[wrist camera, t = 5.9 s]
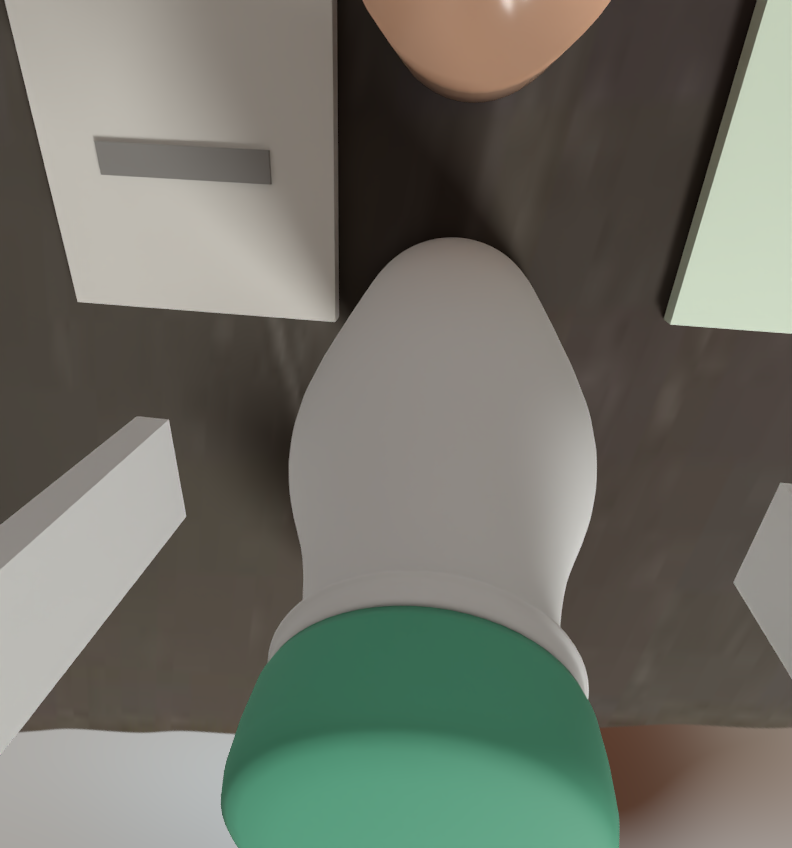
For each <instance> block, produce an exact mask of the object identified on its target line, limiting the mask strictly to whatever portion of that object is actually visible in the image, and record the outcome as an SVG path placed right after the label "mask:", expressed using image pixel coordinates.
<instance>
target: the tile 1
mask: <svg viewBox="0 0 792 848" xmlns="http://www.w3.org/2000/svg"><path fill="white" fill-rule="evenodd" d="M5 5H6V9H7V13H8V17H9V21H10V25H11V29H12V33H13V37H14V42H15V46H16V50H17V54H18V58H19V62H20V66H21V70H22V74H23V79H24V83H25V87H26V91H27V95H28V99H29V103H30V107H31V112H32V116H33V120H34V124H35V128H36V132H37V136H38V140H39V144H40V149H41V153H42V157H43V161H44V165H45V169H46V173H47V177H48V181H49V186H50V190H51V194H52V198H53V202H54V206H55V210H56V214H57V218H58V223H59V227H60V231H61V235H62V239H63V243H64V247H65V251H66V256H67V260H68V264H69V268H70V272H71V276H72V280H73V284H74V288H75V293H76V297H77V301H78V302H86V303H98V304H111V305H124V306H137V307H150V308H162V309H175V310H188V311H201V312H214V313H226V314H239V315H252V316H265V317H278V318H290V319H303V320H316V321H329V322H336V320H337V319H338V318H339V229H338V67H337V0H5Z"/></svg>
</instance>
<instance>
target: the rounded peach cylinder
mask: <svg viewBox="0 0 792 848" xmlns="http://www.w3.org/2000/svg"><path fill="white" fill-rule="evenodd" d="M610 1H611V0H363V2H364V4H365V6H366V8H367V10H368V12H369V13H370V15H371V16H372V18H373V19H374V21H375V22H376V24H377V25H378V27H379V28H380V30H381V31H382V33H383V34H384V36H385V37H386V39H387V40H388V42H389V43H390V44H391V46H392V47H393V49H394V50H395V52H396V53H397V55H398V56H399V58H400V59H401V61H402V62H403V64H404V65H405V67H406V68H407V69H408V70H409V71H410V72H411V74H412V75H413V76H414V77H415V78H416V79H417V80H418V81H420V82H421V83H422V84H423V85H424V86H426V87H427V88H429V89H430V90H432V91H433V92H435V93H437V94H439V95H441V96H443V97H446V98H449V99H452V100H456V101H461V102H469V103H477V102H487V101H493V100H497V99H500V98H503V97H506V96H509V95H511V94H513V93H515V92H517V91H519V90H521V89H522V88H524V87H525V86H527V85H528V84H530V83H531V82H532V81H534V80H535V79H536V78H537V77H538V76H539V75H541V74H542V73H543V72H544V71H545V70H546V69H547V68H548V67H549V66H550V65H551V64H552V63H553V62H554V61H555V60H556V59H557V58H558V57H559V56H561V55H562V54H563V53H564V52H565V51H566V50H567V49H568V48H569V47H570V46H571V45H572V44H573V43H574V42H575V41H576V40H577V39H578V38H579V37H580V36H581V35H582V34H583V33H584V32H585V31H586V30H587V29H588V28H589V27H590V26H591V25H592V24H593V22H594V21H595V20H596V19H597V18H598V17H599V16H600V14H601V13H602V12H603V10H604V9H605V8H606V6H607V5H608V4H609V2H610Z"/></svg>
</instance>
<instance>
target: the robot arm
mask: <svg viewBox="0 0 792 848" xmlns="http://www.w3.org/2000/svg"><path fill="white" fill-rule="evenodd" d="M185 517H186V513H185V507H184V502H183V496H182V490H181V485H180V479H179V474H178V468H177V463H176V457H175V451H174V446H173V440H172V435H171V429H170V424H169V420H168V419H159V418H149V417H139V416H137V417H135V418H134V419H133V420H132V421H130V422H129V423H128V424H126V425H125V426H124V427H123V428H121V429H120V430H119V431H118V432H116V433H115V434H114V435H113V436H111V437H110V438H109V439H108V440H106V441H105V442H104V443H103V444H101V445H100V446H99V447H98V448H96V449H95V450H94V451H93V452H91V453H90V454H89V455H88V456H86V457H85V458H84V459H82V460H81V461H80V462H79V463H77V464H76V465H75V466H74V467H72V468H71V469H70V470H69V471H67V472H66V473H65V474H64V475H62V476H61V477H60V478H59V479H57V480H56V481H55V482H54V483H52V484H51V485H50V486H49V487H47V488H46V489H45V490H44V491H42V492H41V493H40V494H38V495H37V496H36V497H35V498H33V499H32V500H31V501H30V502H28V503H27V504H26V505H25V506H23V507H22V508H21V509H20V510H18V511H17V512H16V513H15V514H13V515H12V516H11V517H10V518H8V519H7V520H6V521H5V522H3V523H2V524H1V525H0V755H1V754H2V753H3V751H4V750H5V749H6V747H7V746H8V745H9V744H10V742H11V741H12V740H13V739H14V737H15V736H16V735H17V733H18V732H19V731H20V730H21V728H22V727H23V726H24V724H25V723H26V722H27V721H28V719H29V718H30V717H31V715H32V714H33V713H34V712H35V710H36V709H37V708H38V706H39V705H40V704H41V703H42V701H43V700H44V699H45V697H46V696H47V695H48V694H49V692H50V691H51V690H52V688H53V687H54V686H55V685H56V683H57V682H58V681H59V679H60V678H61V677H62V676H63V674H64V673H65V672H66V670H67V669H68V668H69V667H70V665H71V664H72V663H73V661H74V660H75V659H76V658H77V656H78V655H79V654H80V652H81V651H82V650H83V649H84V647H85V646H86V645H87V643H88V642H89V641H90V640H91V638H92V637H93V636H94V634H95V633H96V632H97V631H98V629H99V628H100V627H101V625H102V624H103V623H104V622H105V620H106V619H107V618H108V616H109V615H110V614H111V613H112V611H113V610H114V609H115V607H116V606H117V605H118V604H119V602H120V601H121V600H122V598H123V597H124V596H125V595H126V593H127V592H128V591H129V589H130V588H131V587H132V586H133V584H134V583H135V582H136V580H137V579H138V578H139V577H140V575H141V574H142V573H143V571H144V570H145V569H146V568H147V566H148V565H149V564H150V562H151V561H152V560H153V559H154V557H155V556H156V555H157V553H158V552H159V551H160V550H161V548H162V547H163V546H164V544H165V543H166V542H167V541H168V539H169V538H170V537H171V535H172V534H173V533H174V532H175V530H176V529H177V528H178V526H179V525H180V524H181V523H182V521H183V520H184V519H185ZM733 583H734V584H735V586H736V588H737V589H738V591H739V593H740V594H741V596H742V598H743V599H744V601H745V603H746V604H747V606H748V607H749V609H750V611H751V612H752V614H753V616H754V617H755V619H756V621H757V622H758V624H759V626H760V627H761V629H762V631H763V632H764V634H765V635H766V637H767V639H768V640H769V642H770V644H771V645H772V647H773V649H774V650H775V652H776V654H777V655H778V657H779V659H780V660H781V662H782V663H783V665H784V667H785V668H786V670H787V672H788V673H789V675H790V677H791V678H792V484H788V483H780V485H779V487H778V489H777V491H776V493H775V495H774V498H773V500H772V502H771V504H770V506H769V508H768V510H767V512H766V515H765V517H764V519H763V521H762V523H761V525H760V527H759V529H758V531H757V534H756V536H755V538H754V540H753V542H752V544H751V546H750V548H749V551H748V553H747V555H746V557H745V559H744V561H743V563H742V565H741V567H740V570H739V572H738V574H737V576H736V578H735V580H734V582H733Z"/></svg>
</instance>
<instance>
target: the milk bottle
mask: <svg viewBox="0 0 792 848" xmlns="http://www.w3.org/2000/svg"><path fill="white" fill-rule="evenodd" d="M596 480H597V458H596V446H595V440H594V434H593V429H592V423H591V418H590V414H589V411H588V407H587V404H586V401H585V399H584V396H583V393H582V391H581V388H580V386H579V383H578V380H577V378H576V375H575V373H574V371H573V368H572V366H571V364H570V361H569V359H568V357H567V355H566V353H565V351H564V349H563V347H562V345H561V343H560V341H559V338H558V336H557V334H556V332H555V330H554V328H553V326H552V324H551V322H550V320H549V318H548V316H547V314H546V312H545V310H544V308H543V306H542V305H541V303H540V301H539V299H538V297H537V295H536V293H535V291H534V289H533V288H532V286H531V284H530V282H529V281H528V279H527V278H526V277H525V275H524V274H523V272H522V271H521V270H520V268H519V267H518V266H517V265H516V264H515V263H514V262H513V261H512V260H511V259H510V258H508V257H507V256H506V255H505V254H503V253H502V252H500V251H499V250H497V249H495V248H493V247H492V246H489V245H487V244H485V243H482V242H479V241H476V240H471V239H466V238H457V237H446V238H437V239H433V240H428V241H425V242H422V243H419V244H417V245H414V246H412V247H410V248H408V249H407V250H405V251H403V252H402V253H400V254H399V255H397V256H396V257H395V258H394V259H392V260H391V261H390V262H389V263H388V264H387V265H386V266H385V267H384V268H383V269H382V271H381V272H380V273H379V274H378V275H377V277H376V278H375V279H374V281H373V282H372V283H371V285H370V286H369V288H368V289H367V291H366V292H365V294H364V295H363V297H362V298H361V300H360V301H359V303H358V304H357V306H356V307H355V309H354V310H353V312H352V313H351V314H350V316H349V318H348V319H347V321H346V322H345V324H344V325H343V327H342V329H341V330H340V332H339V333H338V335H337V336H336V338H335V340H334V341H333V343H332V344H331V346H330V347H329V349H328V351H327V352H326V354H325V356H324V357H323V359H322V361H321V363H320V365H319V367H318V368H317V370H316V372H315V374H314V376H313V378H312V380H311V382H310V384H309V386H308V388H307V390H306V392H305V394H304V397H303V400H302V403H301V406H300V409H299V412H298V415H297V418H296V421H295V424H294V429H293V434H292V439H291V447H290V455H289V492H290V499H291V505H292V511H293V517H294V521H295V525H296V529H297V533H298V537H299V542H300V546H301V552H302V559H303V600H302V601H301V602H300V603H298V604H297V605H296V606H295V607H294V608H293V609H292V610H291V611H290V612H289V613H288V614H287V616H286V617H285V618H284V619H283V621H282V622H281V623H280V625H279V627H278V628H277V630H276V632H275V634H274V636H273V639H272V641H271V644H270V648H269V654H268V663H267V665H266V666H265V667H264V669H263V671H262V672H261V674H260V675H259V678H258V680H257V682H256V685H255V687H254V689H253V691H252V694H251V696H250V698H249V701H248V703H247V705H246V708H245V710H244V712H243V715H242V717H241V719H240V722H239V725H238V728H237V731H236V734H235V738H234V740H233V743H232V746H231V749H230V752H229V755H228V758H227V761H226V765H225V770H224V777H223V786H222V794H221V809H222V815H223V818H224V822H225V825H226V826H227V829H228V831H229V833H230V835H231V837H232V839H233V840H234V842H235V844H236V845H237V847H238V848H619V814H618V808H617V803H616V798H615V793H614V787H613V782H612V777H611V772H610V767H609V762H608V758H607V754H606V751H605V747H604V744H603V740H602V737H601V733H600V729H599V726H598V722H597V719H596V716H595V713H594V711H593V708H592V706H591V704H590V703H589V701H588V695H589V686H588V677H587V673H586V668H585V666H584V663H583V661H582V658H581V656H580V654H579V652H578V651H577V649H576V647H575V645H574V644H573V642H572V641H571V640H570V638H569V637H568V635H567V634H566V633H565V632H564V631H563V630H562V629H561V627H560V621H561V611H562V604H563V598H564V593H565V588H566V583H567V580H568V577H569V574H570V572H571V569H572V567H573V564H574V562H575V559H576V557H577V555H578V552H579V550H580V548H581V545H582V543H583V540H584V537H585V534H586V531H587V528H588V525H589V522H590V519H591V514H592V509H593V503H594V498H595V492H596Z"/></svg>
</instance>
